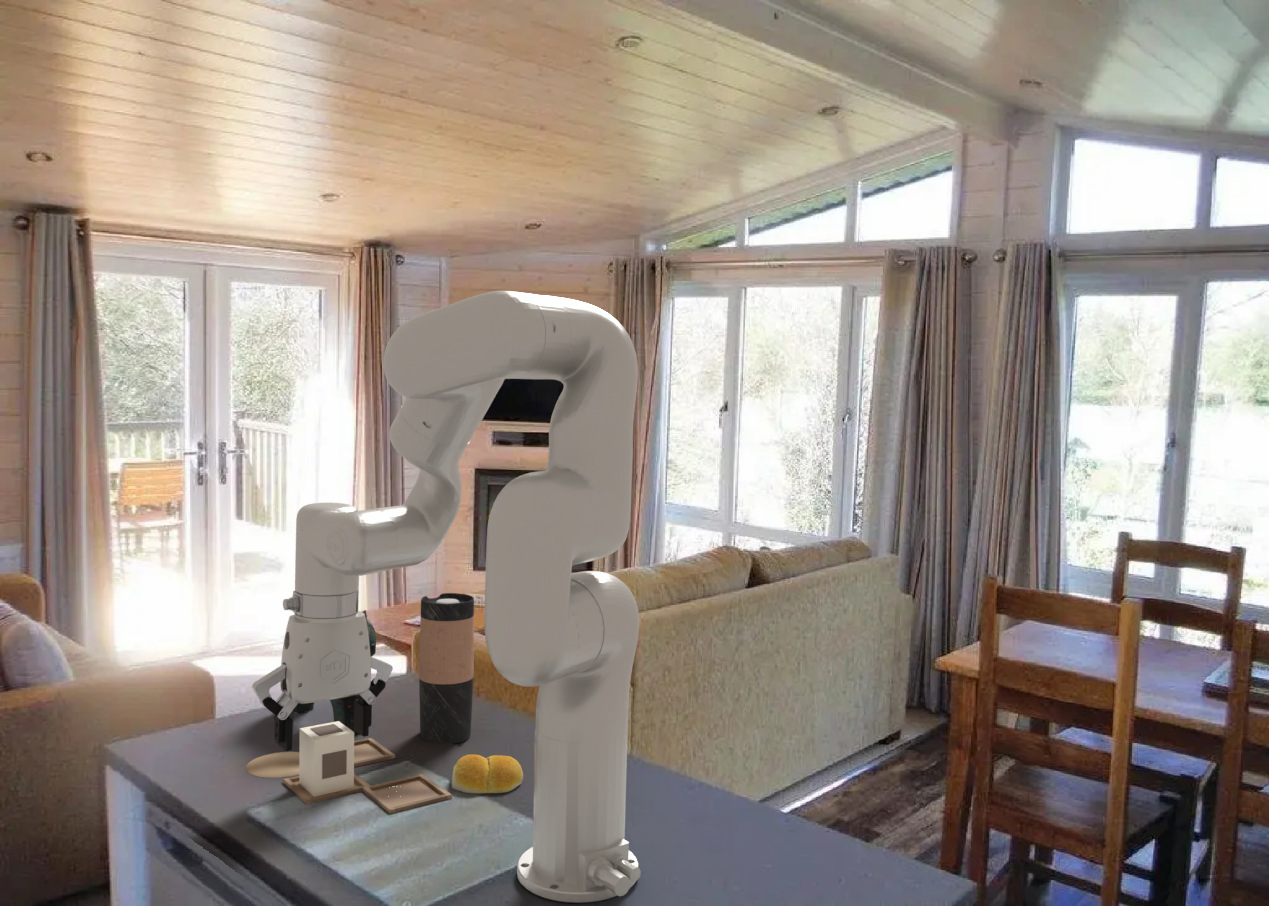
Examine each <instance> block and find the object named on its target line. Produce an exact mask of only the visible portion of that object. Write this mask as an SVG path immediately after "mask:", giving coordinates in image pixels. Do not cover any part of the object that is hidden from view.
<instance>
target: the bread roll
mask: <svg viewBox="0 0 1269 906" xmlns="http://www.w3.org/2000/svg"><path fill="white" fill-rule="evenodd" d="M523 780H524V772H523V769H522V766H521V764H520V763H519V761H518V760H517V759H515V758H513V757H512V756H510V755H501V754H500V755H499V754H498V755H497V754H495V755H494V754H493V755H490V756H488V757H484V756H482V755H480V754H465V755H463V756H461V757H460V758H459V759H458V760H457V761H456V763H455V765H453V771H452V776H451V788H452V789H453V790H455V791H460V792H462V793H467V794H502V793H508V792H510V791H513V790H514V789H516V788H518V787H519V786H520V785H522V783H523Z"/></svg>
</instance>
